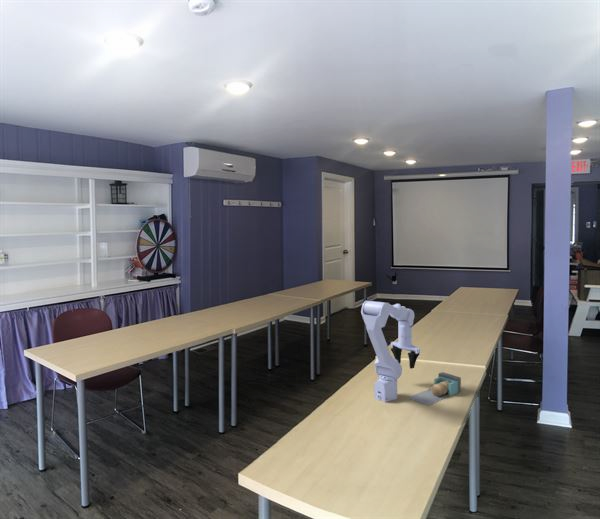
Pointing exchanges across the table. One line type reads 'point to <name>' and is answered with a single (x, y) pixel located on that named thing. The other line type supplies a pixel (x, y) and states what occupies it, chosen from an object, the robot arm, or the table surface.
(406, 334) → the robot arm
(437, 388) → the dowel
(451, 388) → the teal arch
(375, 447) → the table surface
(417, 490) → the table surface
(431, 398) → the board
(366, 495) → the table surface
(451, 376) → the backstop wall
